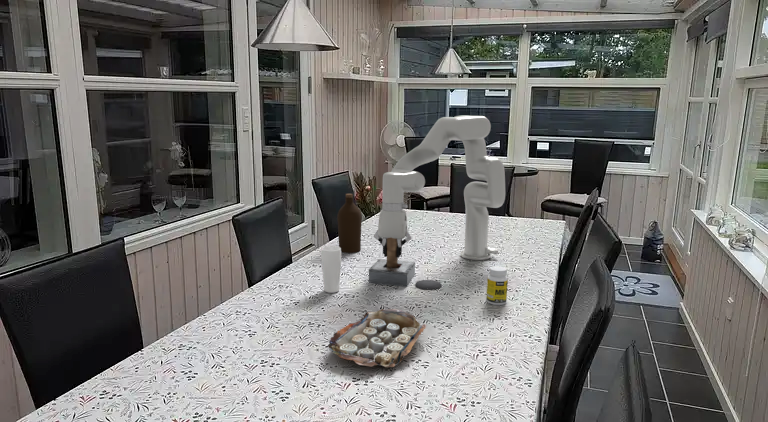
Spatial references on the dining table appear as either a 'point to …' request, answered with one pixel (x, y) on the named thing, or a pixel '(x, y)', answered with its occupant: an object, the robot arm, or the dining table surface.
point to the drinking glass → (331, 268)
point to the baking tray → (377, 338)
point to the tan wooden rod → (392, 253)
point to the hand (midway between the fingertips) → (392, 256)
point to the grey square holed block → (392, 273)
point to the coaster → (428, 284)
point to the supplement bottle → (497, 285)
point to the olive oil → (349, 226)
